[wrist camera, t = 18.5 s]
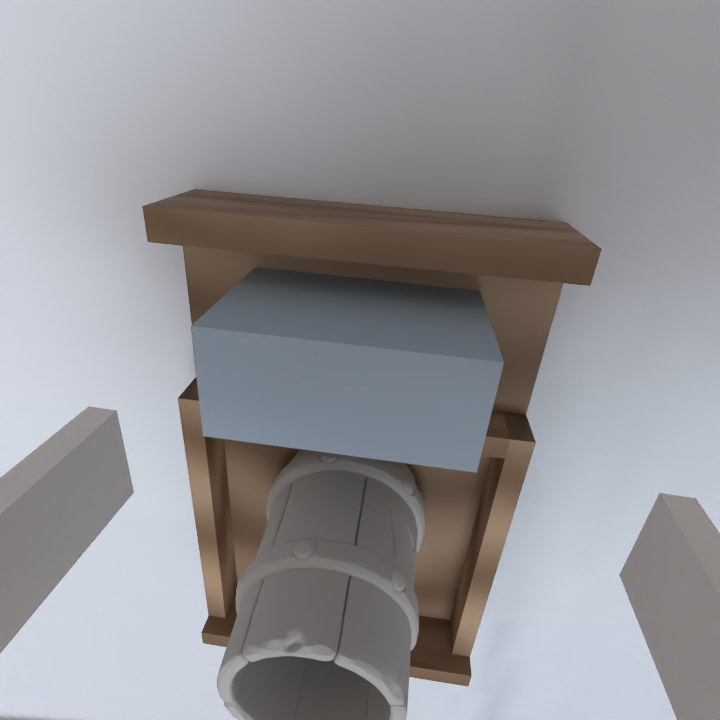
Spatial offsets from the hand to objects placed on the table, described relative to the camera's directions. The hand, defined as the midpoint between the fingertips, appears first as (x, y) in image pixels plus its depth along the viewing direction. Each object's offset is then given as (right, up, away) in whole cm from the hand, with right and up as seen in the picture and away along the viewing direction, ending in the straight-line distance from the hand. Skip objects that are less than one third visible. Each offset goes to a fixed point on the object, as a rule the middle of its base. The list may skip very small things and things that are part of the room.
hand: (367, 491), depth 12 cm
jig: (0, -1, +13) cm, 13 cm away
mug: (0, -5, +13) cm, 14 cm away
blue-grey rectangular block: (0, +5, +8) cm, 9 cm away
